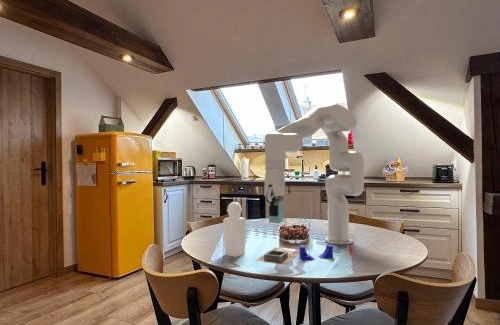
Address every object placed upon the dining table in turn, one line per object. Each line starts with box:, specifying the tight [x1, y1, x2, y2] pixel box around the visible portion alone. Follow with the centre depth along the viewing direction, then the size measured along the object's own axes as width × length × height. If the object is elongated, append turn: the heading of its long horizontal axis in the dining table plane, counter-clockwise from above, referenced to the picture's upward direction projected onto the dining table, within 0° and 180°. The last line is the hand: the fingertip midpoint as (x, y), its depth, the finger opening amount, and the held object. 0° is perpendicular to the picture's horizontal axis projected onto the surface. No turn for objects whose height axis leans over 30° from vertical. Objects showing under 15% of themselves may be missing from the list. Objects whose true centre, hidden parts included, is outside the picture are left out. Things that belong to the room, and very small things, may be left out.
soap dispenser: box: [222, 201, 247, 258], centre depth 125 cm, size 6×6×22 cm
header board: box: [256, 246, 299, 265], centre depth 123 cm, size 20×12×4 cm, turn 154°
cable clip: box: [298, 243, 334, 261], centre depth 119 cm, size 12×4×6 cm, turn 94°
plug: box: [268, 197, 284, 224], centre depth 119 cm, size 4×4×9 cm
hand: (276, 214), depth 119 cm, fingers closed on plug, 4 cm apart
